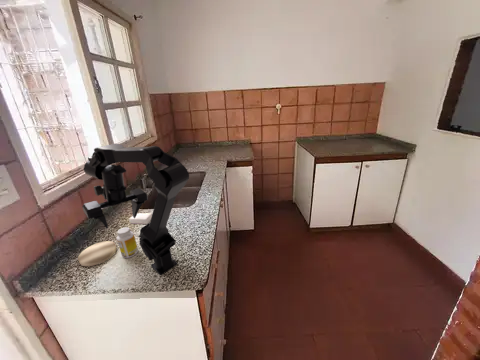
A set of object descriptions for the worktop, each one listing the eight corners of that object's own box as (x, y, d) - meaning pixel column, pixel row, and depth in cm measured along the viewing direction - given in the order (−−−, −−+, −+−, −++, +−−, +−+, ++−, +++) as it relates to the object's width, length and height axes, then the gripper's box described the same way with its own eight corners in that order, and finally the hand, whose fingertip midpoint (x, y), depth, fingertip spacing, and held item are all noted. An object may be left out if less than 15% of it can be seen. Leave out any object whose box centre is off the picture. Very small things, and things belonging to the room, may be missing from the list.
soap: (153, 218, 104) (152, 212, 103) (147, 224, 99) (146, 218, 98) (136, 218, 105) (134, 212, 104) (129, 224, 100) (128, 218, 99)
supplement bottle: (140, 247, 83) (134, 225, 79) (135, 257, 78) (128, 233, 74) (125, 249, 82) (118, 226, 79) (119, 259, 77) (111, 235, 74)
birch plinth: (121, 252, 81) (120, 249, 80) (84, 271, 73) (83, 268, 72) (110, 240, 88) (109, 237, 88) (75, 256, 80) (74, 253, 80)
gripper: (132, 168, 81) (137, 204, 88) (72, 181, 68) (83, 222, 75) (146, 179, 74) (150, 216, 81) (82, 195, 62) (93, 238, 68)
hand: (121, 222), depth 76 cm, fingers open, 9 cm apart
